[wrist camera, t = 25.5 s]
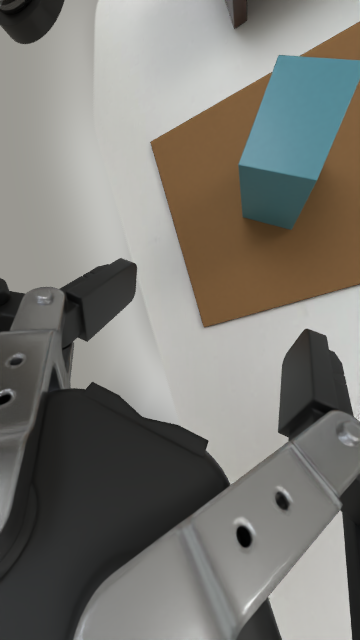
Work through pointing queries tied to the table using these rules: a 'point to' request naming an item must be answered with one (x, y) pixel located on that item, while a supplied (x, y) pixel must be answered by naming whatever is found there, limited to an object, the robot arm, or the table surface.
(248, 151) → the teal rectangular block
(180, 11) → the table surface
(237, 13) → the shelf
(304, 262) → the mat
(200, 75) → the table surface
